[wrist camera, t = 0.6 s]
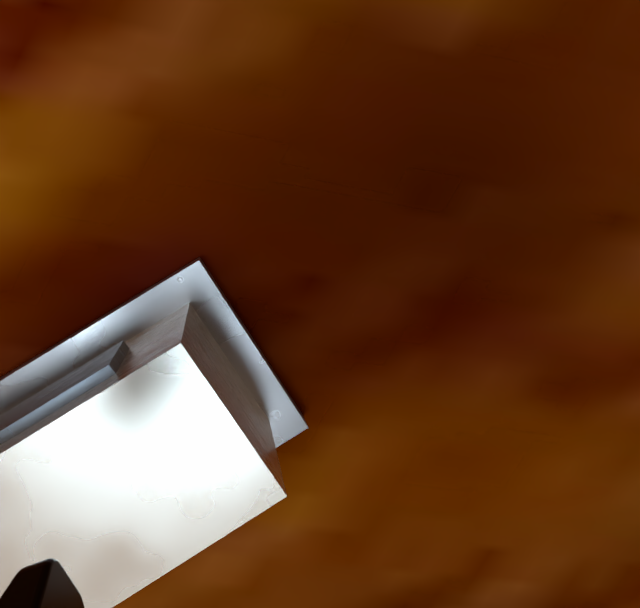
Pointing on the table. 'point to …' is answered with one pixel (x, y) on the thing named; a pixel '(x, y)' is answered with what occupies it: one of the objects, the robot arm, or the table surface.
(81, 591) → the service unit
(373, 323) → the table surface
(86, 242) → the table surface
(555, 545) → the table surface
